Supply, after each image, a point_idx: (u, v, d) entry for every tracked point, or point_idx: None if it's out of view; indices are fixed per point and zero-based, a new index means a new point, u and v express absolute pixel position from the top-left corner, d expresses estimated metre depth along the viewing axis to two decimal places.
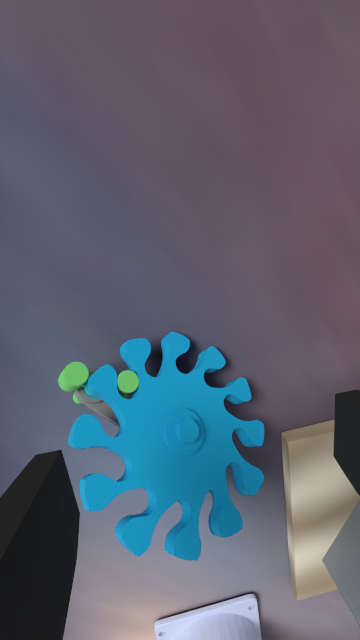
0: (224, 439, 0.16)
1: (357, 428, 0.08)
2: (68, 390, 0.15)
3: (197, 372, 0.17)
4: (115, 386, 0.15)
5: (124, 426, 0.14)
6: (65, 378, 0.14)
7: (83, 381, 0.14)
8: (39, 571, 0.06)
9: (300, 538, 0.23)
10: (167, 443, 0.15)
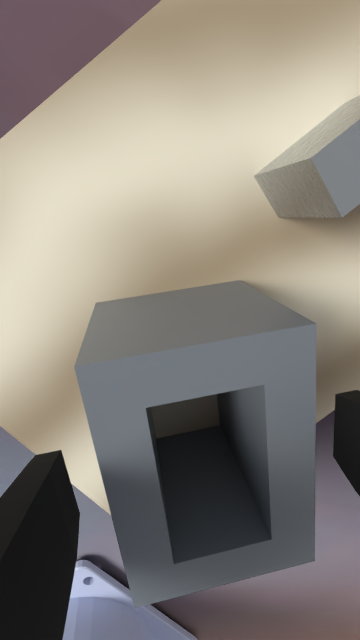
0: None
1: (357, 428, 0.08)
2: None
3: None
4: None
5: None
6: None
7: None
8: (39, 571, 0.06)
9: (50, 450, 0.12)
10: None
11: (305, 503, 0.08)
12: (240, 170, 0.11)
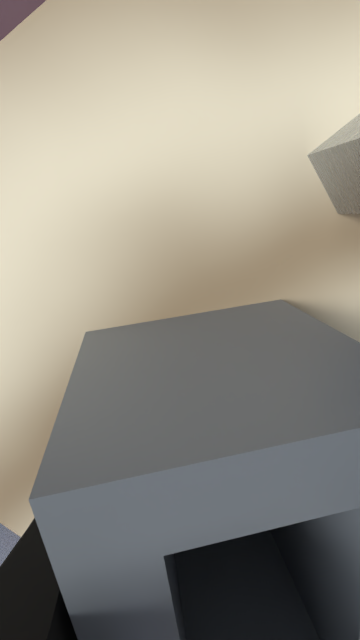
0: None
1: None
2: None
3: None
4: None
5: None
6: None
7: None
8: None
9: (27, 522, 0.09)
10: None
11: None
12: (289, 147, 0.07)
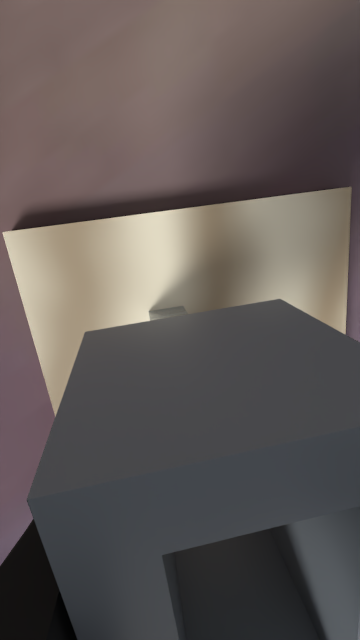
0: None
1: None
2: None
3: None
4: None
5: None
6: None
7: None
8: None
9: None
10: None
11: None
12: None
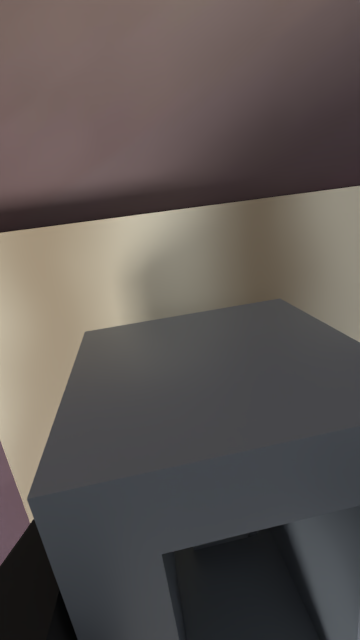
0: None
1: None
2: None
3: None
4: None
5: None
6: None
7: None
8: None
9: None
10: None
11: None
12: None
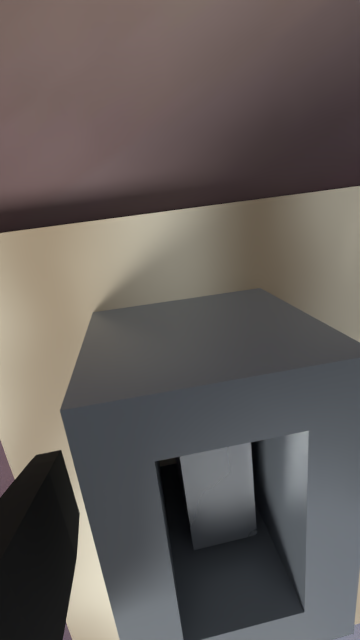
0: None
1: None
2: None
3: None
4: None
5: None
6: None
7: None
8: (40, 571, 0.06)
9: None
10: None
11: (348, 570, 0.07)
12: (163, 461, 0.11)
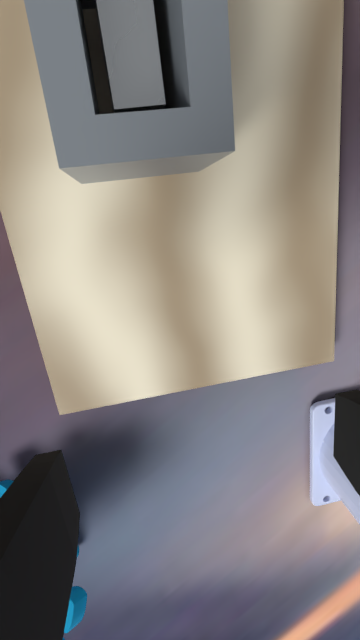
0: None
1: (357, 428, 0.08)
2: None
3: None
4: None
5: None
6: None
7: None
8: (40, 570, 0.06)
9: (220, 374, 0.18)
10: None
11: (221, 63, 0.09)
12: None
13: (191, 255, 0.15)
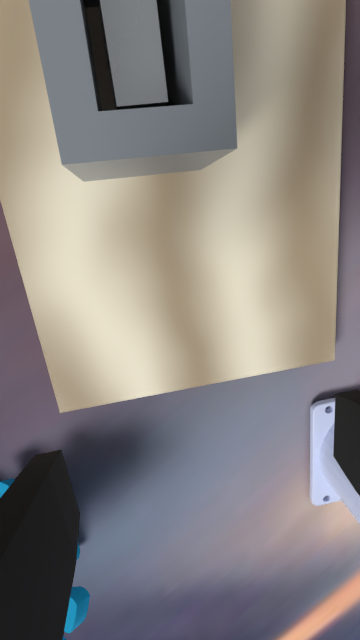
0: None
1: (357, 428, 0.08)
2: None
3: None
4: None
5: None
6: None
7: None
8: (40, 571, 0.06)
9: (220, 373, 0.18)
10: None
11: (224, 60, 0.09)
12: None
13: (192, 253, 0.15)
